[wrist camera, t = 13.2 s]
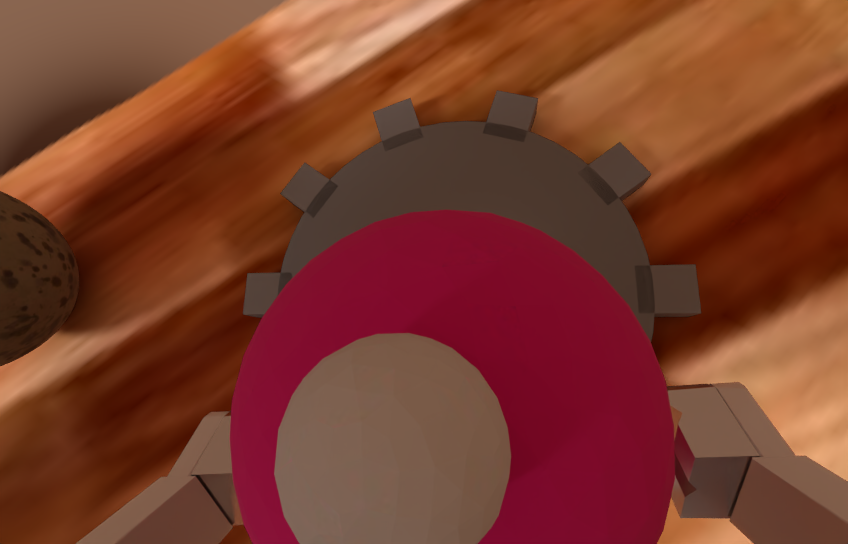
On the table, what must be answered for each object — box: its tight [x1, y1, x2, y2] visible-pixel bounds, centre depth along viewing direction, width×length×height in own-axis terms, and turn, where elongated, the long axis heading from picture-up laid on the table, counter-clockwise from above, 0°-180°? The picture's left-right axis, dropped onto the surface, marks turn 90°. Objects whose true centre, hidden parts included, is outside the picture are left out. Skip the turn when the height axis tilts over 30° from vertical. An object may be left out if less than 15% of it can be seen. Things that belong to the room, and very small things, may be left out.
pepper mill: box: [230, 210, 675, 544], centre depth 12 cm, size 7×7×20 cm
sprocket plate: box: [243, 90, 701, 342], centre depth 24 cm, size 24×24×2 cm
